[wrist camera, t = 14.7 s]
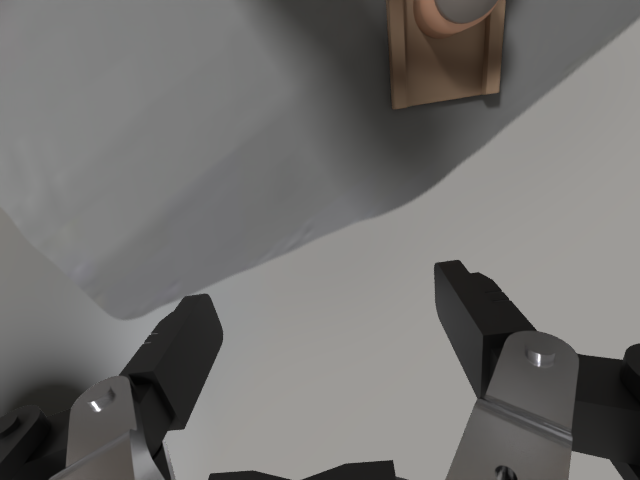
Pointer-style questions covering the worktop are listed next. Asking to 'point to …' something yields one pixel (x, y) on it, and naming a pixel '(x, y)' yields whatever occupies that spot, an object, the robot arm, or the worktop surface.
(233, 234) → the worktop surface
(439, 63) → the lane
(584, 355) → the robot arm
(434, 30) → the terracotta jar
